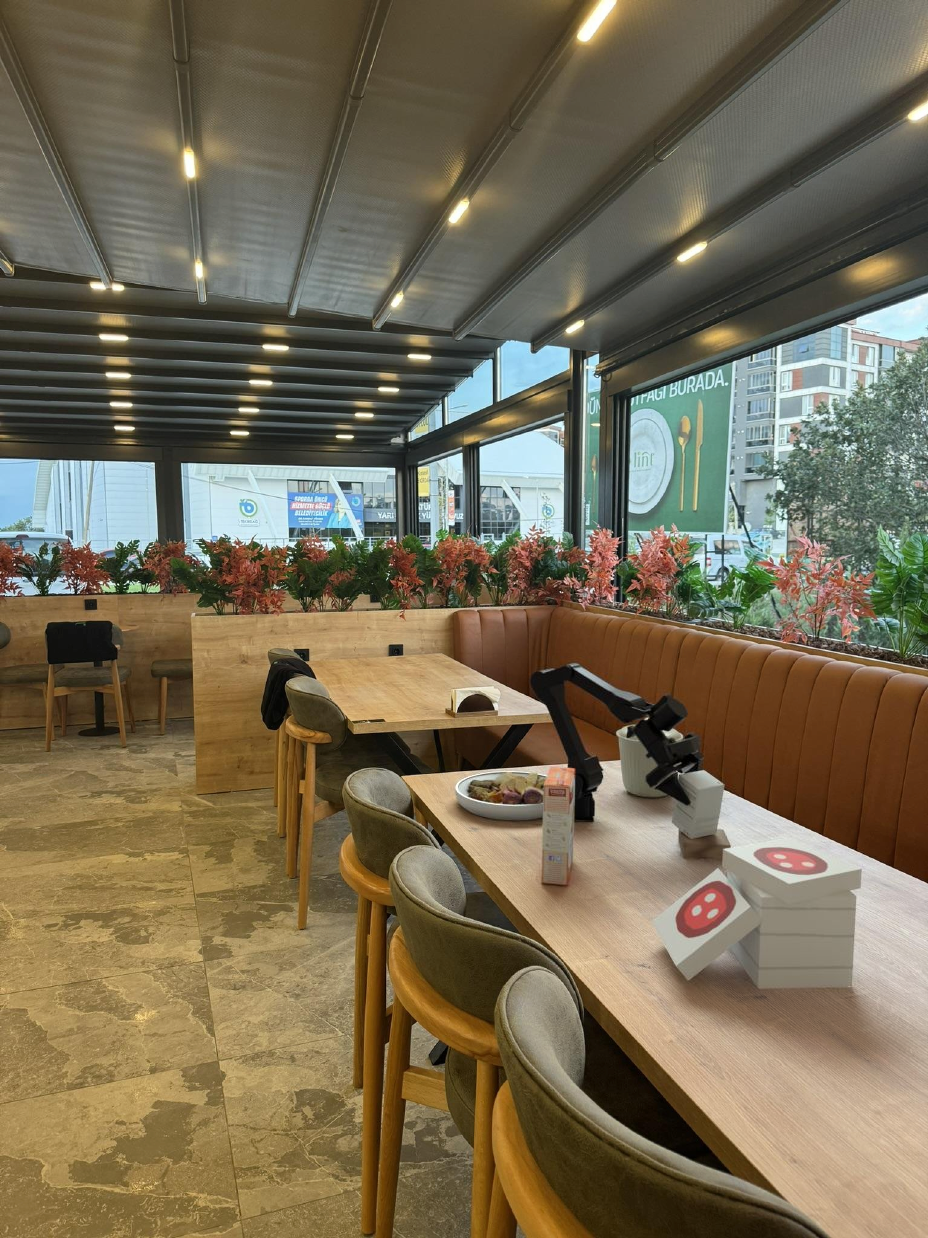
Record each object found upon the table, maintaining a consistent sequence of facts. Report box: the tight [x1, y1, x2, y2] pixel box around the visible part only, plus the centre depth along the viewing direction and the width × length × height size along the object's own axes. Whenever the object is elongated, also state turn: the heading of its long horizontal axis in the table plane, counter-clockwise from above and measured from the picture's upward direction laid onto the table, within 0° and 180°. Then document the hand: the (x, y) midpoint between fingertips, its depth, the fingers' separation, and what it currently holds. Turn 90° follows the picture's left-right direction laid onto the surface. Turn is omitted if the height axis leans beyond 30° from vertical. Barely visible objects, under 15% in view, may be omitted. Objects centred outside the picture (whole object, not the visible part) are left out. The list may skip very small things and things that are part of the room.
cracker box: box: [540, 766, 575, 887], centre depth 169 cm, size 14×6×21 cm, turn 168°
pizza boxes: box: [651, 836, 862, 990], centre depth 132 cm, size 19×30×18 cm, turn 92°
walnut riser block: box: [677, 828, 732, 862], centre depth 182 cm, size 10×10×4 cm
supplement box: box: [671, 769, 725, 839], centre depth 182 cm, size 7×7×13 cm
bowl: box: [454, 770, 547, 821], centre depth 214 cm, size 30×30×8 cm
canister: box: [615, 717, 684, 798], centre depth 224 cm, size 18×18×21 cm
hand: (698, 799), depth 182 cm, fingers open, 9 cm apart
